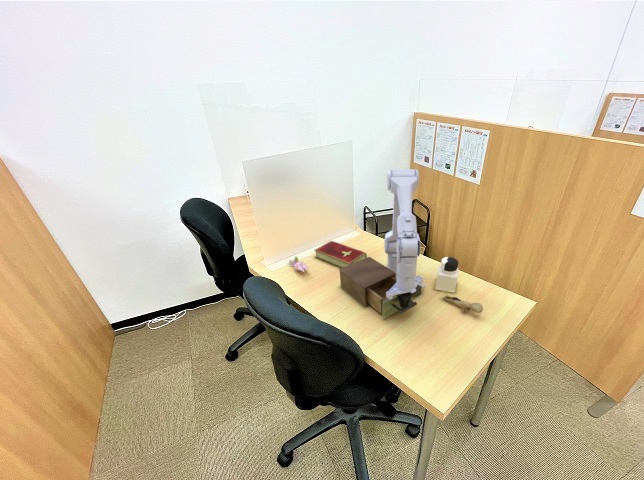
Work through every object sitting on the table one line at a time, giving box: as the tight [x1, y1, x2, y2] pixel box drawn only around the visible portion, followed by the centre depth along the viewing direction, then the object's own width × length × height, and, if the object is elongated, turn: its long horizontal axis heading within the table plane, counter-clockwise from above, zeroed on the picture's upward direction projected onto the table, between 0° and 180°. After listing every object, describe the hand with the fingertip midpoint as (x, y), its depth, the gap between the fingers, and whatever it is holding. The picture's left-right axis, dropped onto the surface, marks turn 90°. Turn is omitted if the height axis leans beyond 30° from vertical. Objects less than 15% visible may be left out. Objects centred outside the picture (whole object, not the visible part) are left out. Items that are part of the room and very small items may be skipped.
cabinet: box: [339, 256, 397, 308], centre depth 110 cm, size 16×15×9 cm
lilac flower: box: [289, 255, 309, 273], centre depth 124 cm, size 6×6×15 cm
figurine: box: [442, 295, 484, 314], centre depth 100 cm, size 4×4×15 cm
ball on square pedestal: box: [435, 256, 459, 294], centre depth 109 cm, size 7×7×12 cm
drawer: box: [366, 276, 418, 320], centre depth 101 cm, size 19×13×7 cm
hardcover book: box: [314, 240, 368, 269], centre depth 131 cm, size 12×21×4 cm, turn 52°
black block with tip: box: [413, 283, 427, 299], centre depth 108 cm, size 8×3×3 cm, turn 127°
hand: (403, 307), depth 97 cm, fingers closed, pressing on drawer
